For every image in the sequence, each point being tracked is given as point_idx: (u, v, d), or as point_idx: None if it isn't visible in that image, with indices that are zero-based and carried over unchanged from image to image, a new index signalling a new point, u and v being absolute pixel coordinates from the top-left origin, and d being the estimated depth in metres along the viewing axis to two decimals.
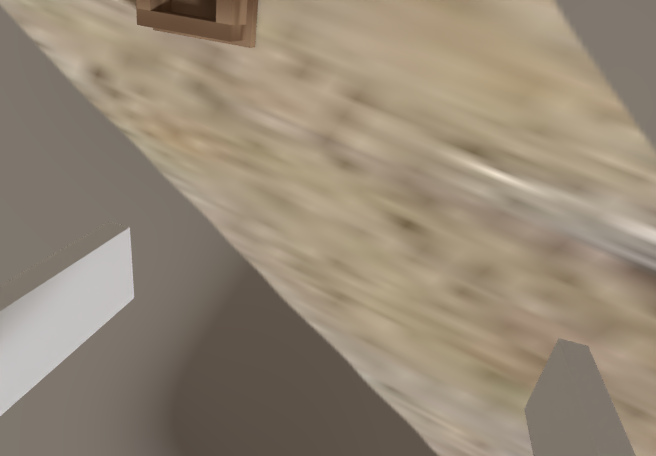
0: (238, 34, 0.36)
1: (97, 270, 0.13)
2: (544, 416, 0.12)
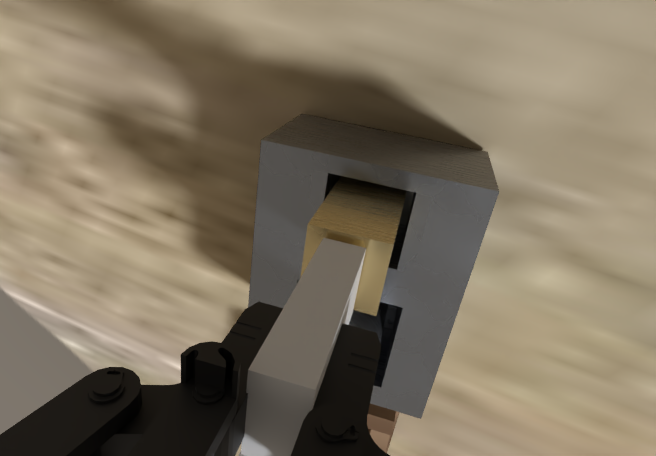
0: None
1: None
2: None
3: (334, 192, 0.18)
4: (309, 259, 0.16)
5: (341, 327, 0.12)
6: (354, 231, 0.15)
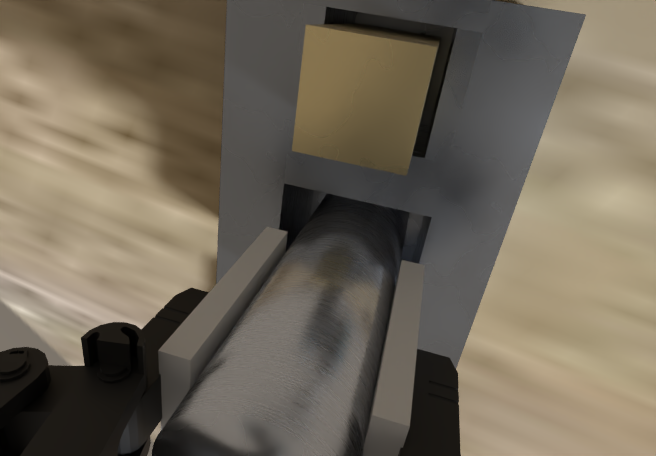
0: None
1: (270, 271, 0.14)
2: None
3: (343, 25, 0.13)
4: (308, 88, 0.11)
5: None
6: (376, 36, 0.10)
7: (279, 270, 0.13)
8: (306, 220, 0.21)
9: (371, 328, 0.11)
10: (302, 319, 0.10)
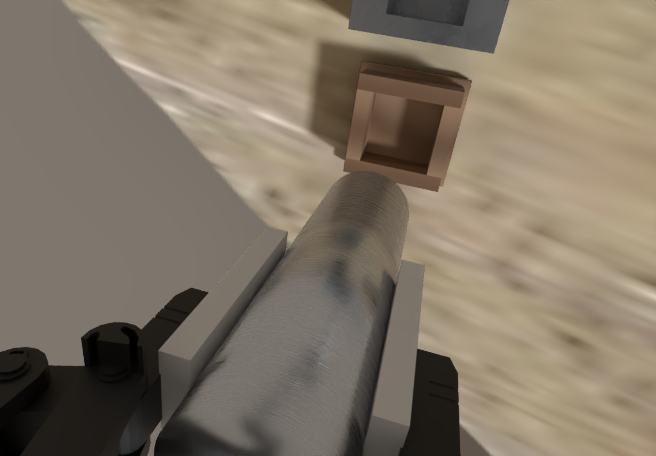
0: None
1: (270, 271, 0.14)
2: None
3: None
4: None
5: None
6: None
7: (280, 269, 0.13)
8: None
9: (372, 326, 0.11)
10: (302, 317, 0.10)
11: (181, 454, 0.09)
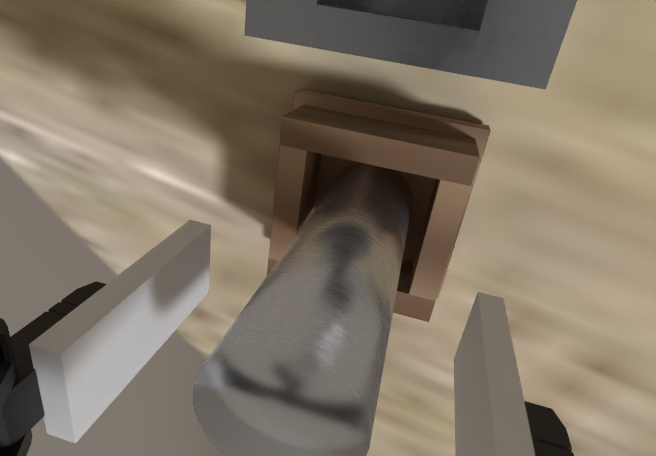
0: None
1: (186, 265, 0.14)
2: (463, 360, 0.13)
3: None
4: None
5: None
6: None
7: (297, 241, 0.14)
8: None
9: (383, 289, 0.13)
10: (322, 276, 0.11)
11: (218, 390, 0.10)
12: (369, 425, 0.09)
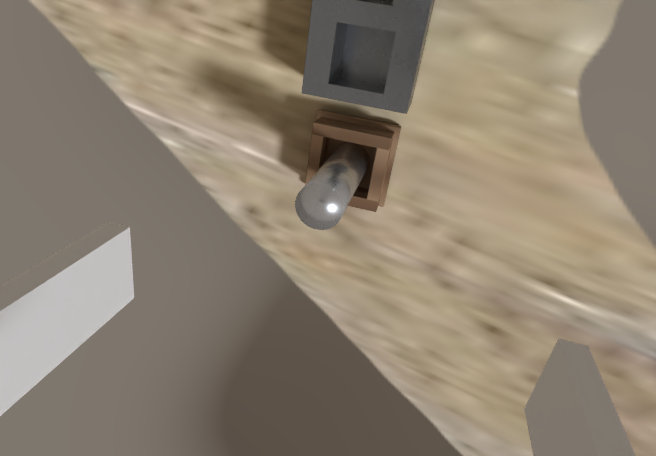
0: (378, 202, 0.48)
1: (97, 270, 0.13)
2: (544, 416, 0.12)
3: None
4: None
5: None
6: None
7: (321, 168, 0.41)
8: (341, 59, 0.44)
9: (349, 180, 0.39)
10: (330, 173, 0.38)
11: (302, 199, 0.36)
12: (342, 205, 0.36)
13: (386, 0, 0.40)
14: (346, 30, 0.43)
